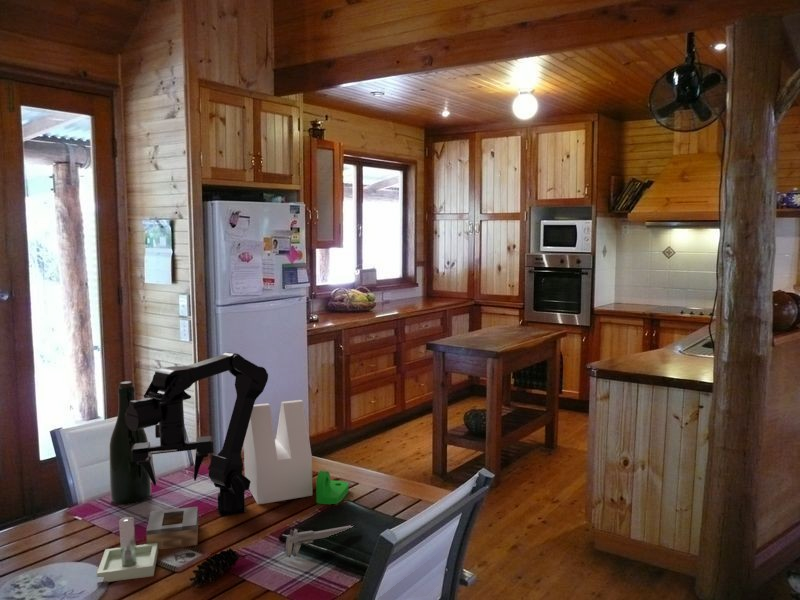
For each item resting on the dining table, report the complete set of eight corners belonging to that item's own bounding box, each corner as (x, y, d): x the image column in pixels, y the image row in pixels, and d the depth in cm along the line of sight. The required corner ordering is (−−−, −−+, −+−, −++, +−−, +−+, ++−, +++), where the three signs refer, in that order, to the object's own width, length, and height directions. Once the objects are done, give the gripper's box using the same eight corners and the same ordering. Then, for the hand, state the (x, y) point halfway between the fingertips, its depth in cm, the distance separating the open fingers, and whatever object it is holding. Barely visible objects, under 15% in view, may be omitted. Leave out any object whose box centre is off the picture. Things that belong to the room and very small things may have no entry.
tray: (158, 553, 148) (157, 542, 148) (153, 577, 138) (153, 565, 137) (106, 559, 145) (105, 549, 145) (97, 584, 135) (96, 573, 134)
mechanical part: (337, 505, 175) (336, 476, 174) (316, 503, 176) (316, 474, 176) (351, 488, 187) (350, 461, 186) (331, 487, 188) (331, 460, 187)
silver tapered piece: (136, 569, 139) (133, 524, 138) (120, 572, 138) (118, 527, 137) (137, 555, 145) (134, 512, 144) (122, 558, 144) (119, 515, 143)
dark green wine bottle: (152, 489, 187) (147, 376, 184) (150, 503, 177) (145, 384, 174) (112, 493, 183) (107, 379, 180) (108, 508, 173) (102, 387, 170)
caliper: (288, 559, 144) (287, 533, 143) (285, 558, 145) (285, 531, 144) (358, 530, 158) (358, 505, 157) (355, 528, 159) (355, 504, 158)
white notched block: (244, 480, 193) (242, 398, 191) (295, 473, 199) (293, 393, 197) (257, 504, 176) (255, 414, 173) (312, 495, 182) (310, 408, 179)
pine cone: (199, 568, 130) (180, 568, 132) (204, 593, 130) (184, 592, 132) (253, 534, 146) (235, 534, 148) (257, 556, 146) (239, 556, 148)
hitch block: (198, 525, 162) (197, 506, 162) (197, 545, 152) (196, 524, 151) (151, 531, 159) (151, 511, 159) (147, 551, 149) (146, 530, 148)
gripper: (211, 407, 166) (214, 466, 168) (133, 415, 161) (137, 475, 163) (211, 419, 155) (215, 482, 157) (128, 427, 150) (132, 492, 152)
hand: (175, 482), depth 158 cm, fingers open, 9 cm apart
